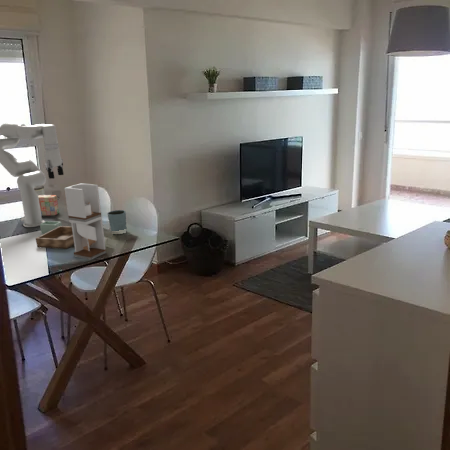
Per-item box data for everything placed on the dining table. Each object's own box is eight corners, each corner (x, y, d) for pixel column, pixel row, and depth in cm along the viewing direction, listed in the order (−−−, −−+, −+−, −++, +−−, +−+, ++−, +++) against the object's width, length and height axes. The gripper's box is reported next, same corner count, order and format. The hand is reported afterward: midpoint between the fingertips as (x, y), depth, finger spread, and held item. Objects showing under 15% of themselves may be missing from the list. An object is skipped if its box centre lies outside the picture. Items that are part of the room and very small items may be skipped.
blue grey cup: (123, 235, 284) (121, 214, 281) (106, 235, 286) (104, 214, 283) (130, 230, 294) (128, 209, 290) (114, 229, 296) (111, 209, 292)
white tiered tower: (74, 256, 255) (64, 187, 245) (89, 249, 264) (80, 183, 253) (90, 259, 249) (81, 189, 239) (106, 252, 258) (97, 184, 248)
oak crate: (37, 247, 272) (35, 238, 270) (60, 234, 292) (59, 226, 290) (66, 248, 267) (65, 239, 265) (88, 235, 287) (87, 227, 285)
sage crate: (41, 234, 294) (39, 224, 292) (48, 230, 300) (46, 221, 298) (56, 235, 291) (55, 224, 289) (62, 231, 297) (61, 221, 295)
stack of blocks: (24, 216, 336) (21, 197, 332) (28, 213, 341) (25, 195, 338) (55, 215, 334) (52, 197, 330) (59, 212, 339) (56, 194, 336)
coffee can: (28, 208, 353) (25, 188, 349) (34, 205, 363) (31, 185, 359) (43, 208, 353) (40, 188, 349) (49, 204, 363) (46, 185, 359)
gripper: (54, 144, 298) (58, 173, 303) (37, 149, 282) (42, 179, 287) (65, 144, 297) (70, 173, 301) (49, 149, 281) (54, 179, 285)
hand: (56, 176), depth 294 cm, fingers open, 9 cm apart
